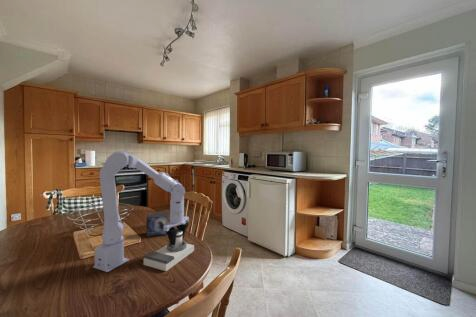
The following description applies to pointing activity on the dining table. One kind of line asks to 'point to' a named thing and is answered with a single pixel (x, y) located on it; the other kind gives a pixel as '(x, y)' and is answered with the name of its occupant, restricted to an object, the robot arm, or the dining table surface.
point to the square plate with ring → (168, 256)
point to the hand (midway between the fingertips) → (176, 241)
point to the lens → (178, 239)
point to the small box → (156, 224)
